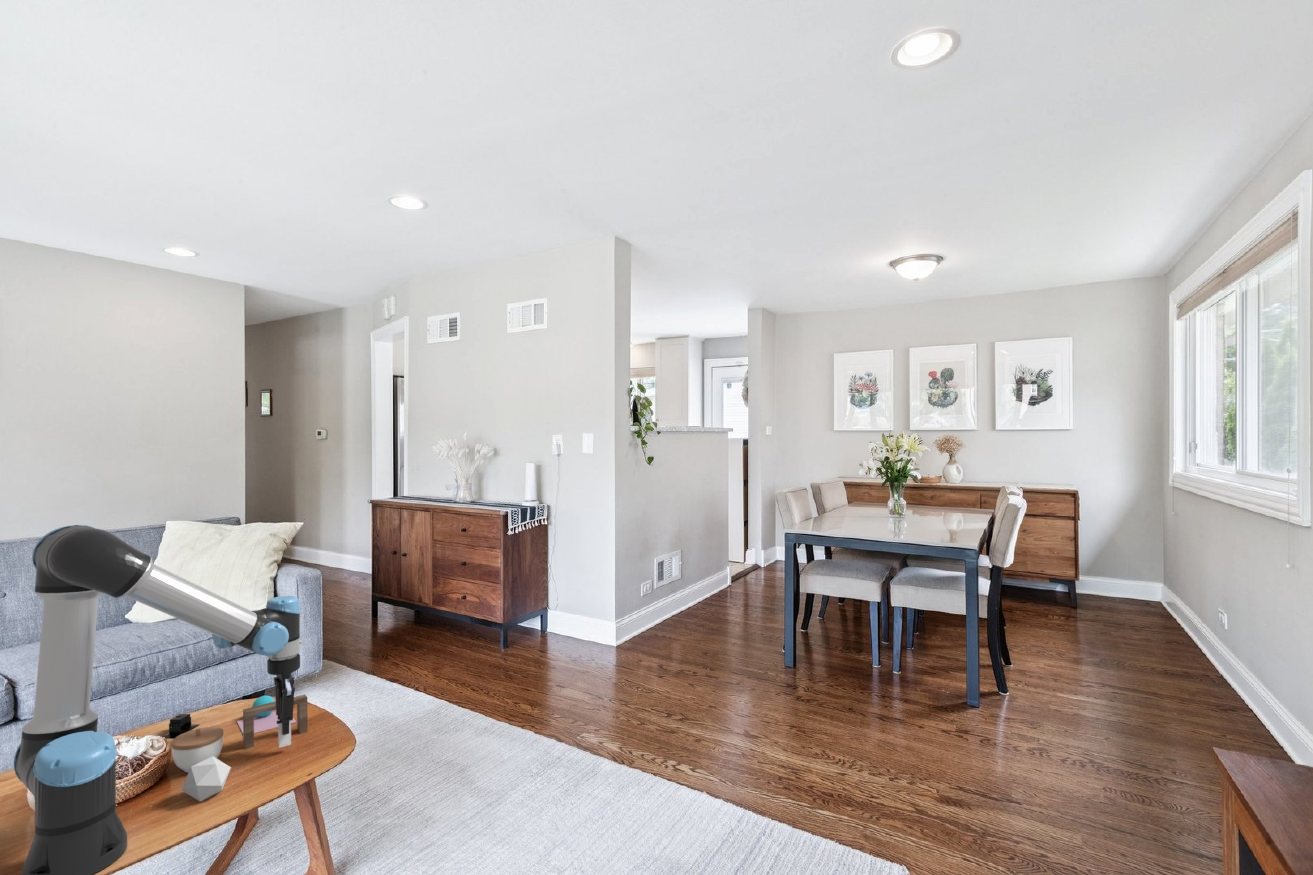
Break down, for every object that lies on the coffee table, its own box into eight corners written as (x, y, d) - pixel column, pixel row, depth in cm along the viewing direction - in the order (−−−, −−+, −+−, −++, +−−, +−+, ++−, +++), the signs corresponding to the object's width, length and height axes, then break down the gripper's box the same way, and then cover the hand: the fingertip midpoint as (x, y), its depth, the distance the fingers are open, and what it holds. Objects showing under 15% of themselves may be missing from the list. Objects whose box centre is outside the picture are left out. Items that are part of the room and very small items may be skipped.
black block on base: (184, 723, 187) (184, 707, 187) (210, 723, 187) (210, 706, 187) (148, 744, 174) (148, 727, 174) (176, 744, 174) (176, 726, 174)
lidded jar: (172, 782, 152) (172, 743, 153) (170, 765, 161) (170, 728, 161) (225, 767, 159) (225, 730, 159) (221, 751, 168) (221, 716, 168)
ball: (250, 719, 189) (256, 720, 185) (248, 699, 190) (253, 699, 186) (273, 712, 193) (279, 713, 189) (271, 692, 194) (276, 692, 190)
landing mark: (244, 736, 176) (244, 735, 176) (236, 721, 186) (236, 720, 186) (296, 722, 185) (296, 721, 185) (286, 708, 195) (286, 708, 195)
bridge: (307, 731, 179) (307, 697, 179) (245, 748, 169) (244, 712, 169) (305, 727, 181) (304, 694, 181) (243, 744, 171) (243, 709, 171)
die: (230, 799, 146) (241, 754, 151) (193, 796, 139) (206, 749, 145) (207, 806, 148) (218, 761, 154) (169, 804, 142) (182, 757, 147)
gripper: (305, 658, 164) (306, 748, 164) (294, 646, 174) (295, 732, 174) (272, 665, 160) (273, 758, 159) (262, 653, 169) (263, 741, 169)
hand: (284, 744), depth 167 cm, fingers closed
